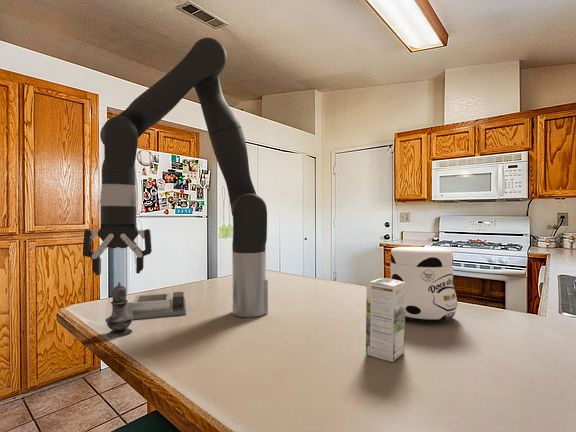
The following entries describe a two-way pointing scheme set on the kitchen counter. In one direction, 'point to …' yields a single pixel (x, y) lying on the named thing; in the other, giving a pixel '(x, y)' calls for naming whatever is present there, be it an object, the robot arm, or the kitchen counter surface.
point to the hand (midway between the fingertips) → (118, 273)
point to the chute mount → (157, 305)
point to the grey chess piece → (119, 314)
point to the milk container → (425, 282)
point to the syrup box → (385, 319)
